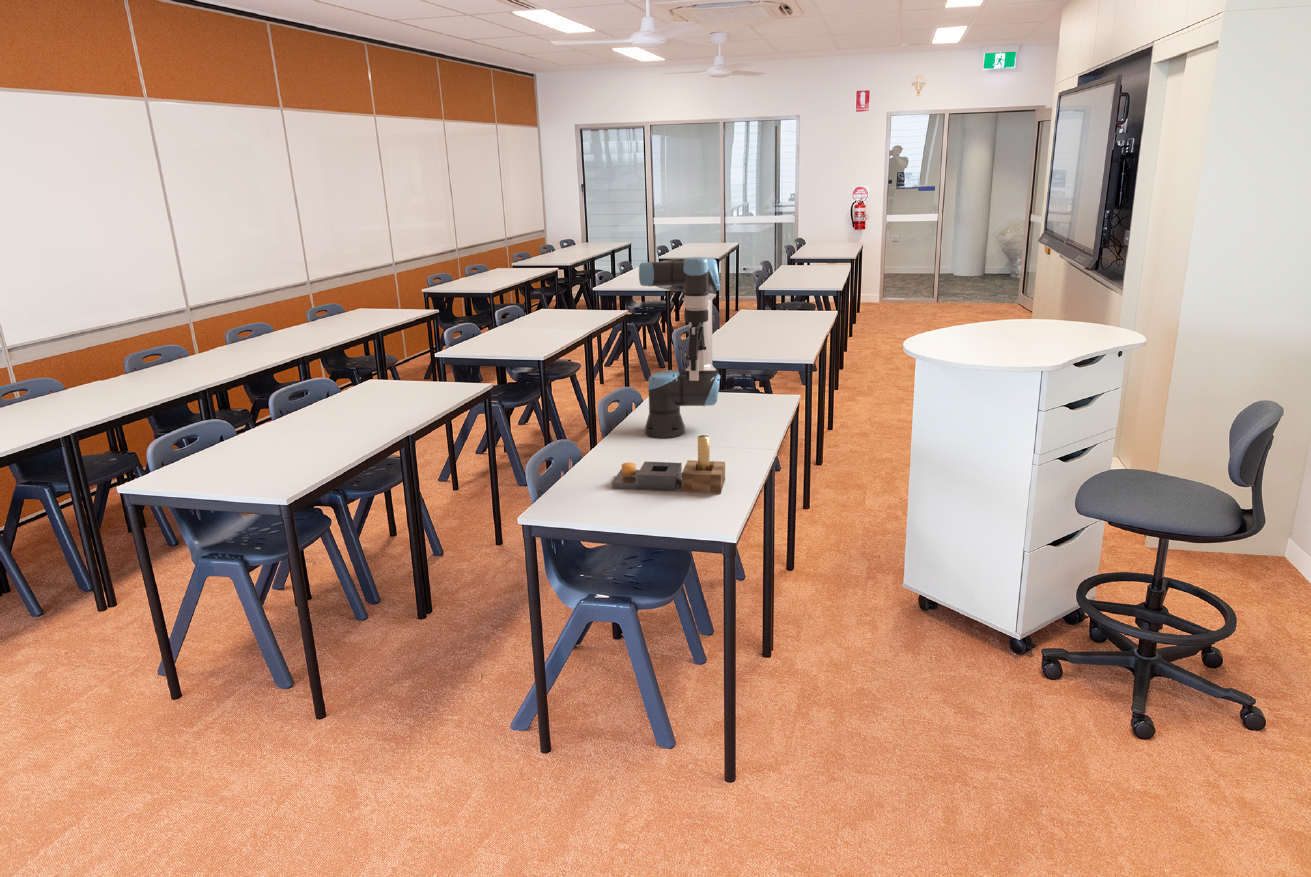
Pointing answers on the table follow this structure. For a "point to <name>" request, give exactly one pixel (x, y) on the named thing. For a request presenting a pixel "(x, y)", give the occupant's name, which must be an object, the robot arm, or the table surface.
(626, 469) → the release button
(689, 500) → the table surface
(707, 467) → the gold metal bar
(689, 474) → the wooden peg hole block
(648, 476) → the socket
